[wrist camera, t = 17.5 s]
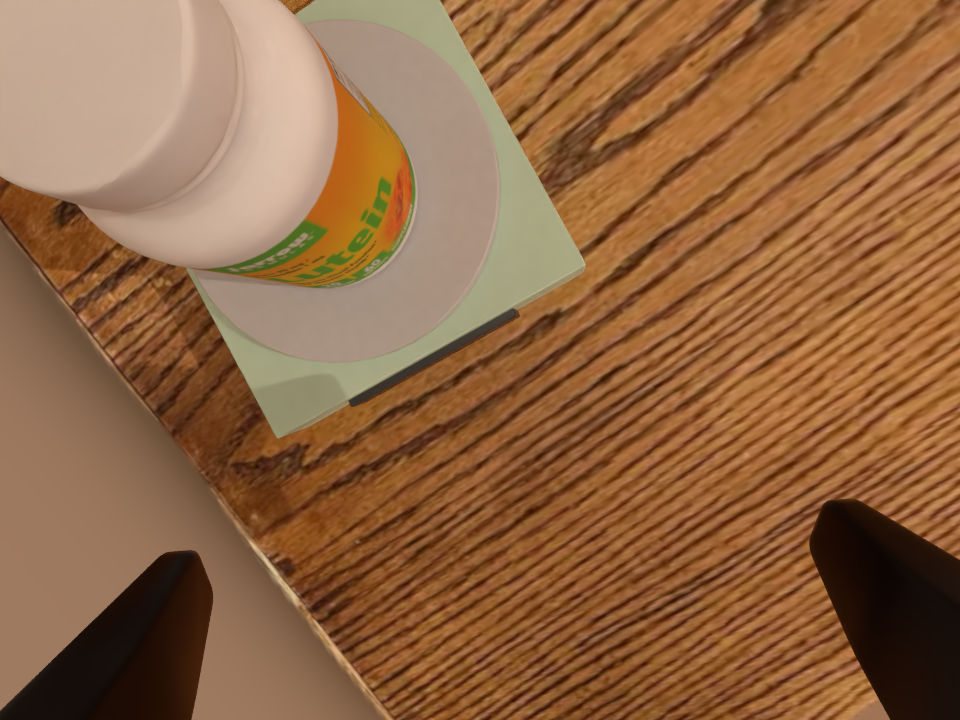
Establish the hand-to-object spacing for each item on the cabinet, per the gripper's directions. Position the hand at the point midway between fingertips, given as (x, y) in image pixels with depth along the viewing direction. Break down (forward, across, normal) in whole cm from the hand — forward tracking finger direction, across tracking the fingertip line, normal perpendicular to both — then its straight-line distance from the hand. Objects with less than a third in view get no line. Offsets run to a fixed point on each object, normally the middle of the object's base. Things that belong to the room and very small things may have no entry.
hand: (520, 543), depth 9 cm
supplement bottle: (+12, +4, -2) cm, 13 cm away
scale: (+15, +3, 0) cm, 15 cm away
